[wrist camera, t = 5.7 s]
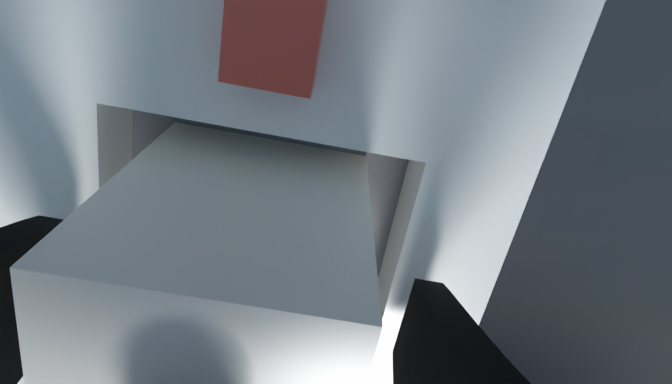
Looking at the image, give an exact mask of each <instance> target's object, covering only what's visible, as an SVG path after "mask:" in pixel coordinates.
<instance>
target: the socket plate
mask: <svg viewBox="0 0 672 384" xmlns="http://www.w3.org/2000/svg"><path fill="white" fill-rule="evenodd" d="M605 1H606V0H0V227H3V226H6V225H9V224H12V223H15V222H18V221H21V220H24V219H28V218H31V217H35V216H39V215H40V216H46V217H52V218H58V219H65V218H67V217H68V216H69V215H70V214H71V213H72V212H73V211H75V210H76V209H77V208H78V207H79V206H80V205H81V204H83V203H84V202H85V201H86V200H87V199H88V198H89V197H91V196H92V195H93V194H94V193H95V192H96V191H97V190H98V189H100V188H101V187H102V186H103V185H104V184H105V183H106V182H108V181H109V180H110V179H111V178H112V177H113V176H114V175H116V174H117V173H118V172H119V171H120V170H121V169H122V168H124V167H125V166H126V165H127V164H128V163H129V162H130V161H131V160H133V159H134V158H135V157H136V156H137V155H138V154H139V153H141V152H142V151H143V150H144V149H145V148H146V147H147V146H149V145H150V144H151V143H152V142H153V141H154V140H155V139H157V138H158V137H159V136H160V135H161V134H162V133H163V132H164V131H166V130H167V129H168V128H169V127H170V126H171V125H172V124H174V123H175V122H178V123H184V124H189V125H195V126H201V127H206V128H212V129H217V130H223V131H229V132H234V133H240V134H245V135H251V136H257V137H262V138H268V139H273V140H279V141H285V142H290V143H296V144H302V145H307V146H313V147H318V148H324V149H330V150H335V151H341V152H346V153H352V154H358V155H363V156H366V160H367V171H368V181H369V191H370V202H371V212H372V223H373V233H374V244H375V254H376V265H377V275H378V286H379V296H380V307H381V317H382V330H381V334H380V338H379V341H378V345H377V348H376V352H375V355H374V359H373V362H372V366H371V370H370V373H369V377H368V380H367V384H393V349H394V346H395V342H396V339H397V336H398V332H399V329H400V326H401V322H402V319H403V316H404V313H405V309H406V306H407V303H408V299H409V296H410V293H411V290H412V286H413V283H414V280H415V278H416V279H422V280H428V281H434V282H440V283H443V284H444V285H445V286H446V287H447V288H448V289H449V290H450V291H451V293H452V294H453V295H454V296H455V297H456V299H457V300H458V301H459V302H460V304H461V305H462V306H463V307H464V308H465V310H466V311H467V312H468V313H469V315H470V316H471V317H472V318H473V319H474V321H475V322H476V323H477V324H478V326H479V323H480V321H481V318H482V316H483V313H484V311H485V308H486V306H487V303H488V300H489V298H490V295H491V293H492V290H493V288H494V285H495V282H496V280H497V277H498V275H499V272H500V270H501V267H502V265H503V262H504V259H505V257H506V254H507V252H508V249H509V247H510V244H511V242H512V239H513V236H514V234H515V231H516V229H517V226H518V224H519V221H520V218H521V216H522V213H523V211H524V208H525V206H526V203H527V201H528V198H529V195H530V193H531V190H532V188H533V185H534V183H535V180H536V178H537V175H538V172H539V170H540V167H541V165H542V162H543V160H544V157H545V155H546V152H547V149H548V147H549V144H550V142H551V139H552V137H553V134H554V131H555V129H556V126H557V124H558V121H559V119H560V116H561V114H562V111H563V108H564V106H565V103H566V101H567V98H568V96H569V93H570V91H571V88H572V85H573V83H574V80H575V78H576V75H577V73H578V70H579V67H580V65H581V62H582V60H583V57H584V55H585V52H586V50H587V47H588V44H589V42H590V39H591V37H592V34H593V32H594V29H595V27H596V24H597V21H598V19H599V16H600V14H601V11H602V9H603V6H604V3H605ZM17 384H24V378H23V377H22V378H21V379H20V381H19V382H18V383H17Z"/></svg>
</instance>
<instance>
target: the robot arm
mask: <svg viewBox="0 0 672 384" xmlns="http://www.w3.org/2000/svg"><path fill="white" fill-rule="evenodd" d="M63 220H64V219H58V218H52V217H46V216H40V215H39V216H35V217H31V218H28V219H24V220H21V221H18V222H15V223H12V224H9V225H6V226H3V227H0V384H17V383H18V382H19V381H20V379H21V378H22V377H23V370H22V362H21V354H20V346H19V338H18V331H17V323H16V315H15V307H14V299H13V291H12V283H11V275H10V267H11V266H12V265H13V264H14V263H15V262H17V261H18V260H19V259H20V258H21V257H22V256H23V255H25V254H26V253H27V252H28V251H29V250H30V249H31V248H32V247H34V246H35V245H36V244H37V243H38V242H39V241H40V240H42V239H43V238H44V237H45V236H46V235H47V234H48V233H50V232H51V231H52V230H53V229H54V228H55V227H56V226H58V225H59V224H60V223H61V222H62V221H63ZM393 384H530V383H529V382H528V381H527V380H526V379H525V377H524V376H523V375H522V374H521V373H520V372H519V371H518V370H517V369H516V368H515V367H514V366H513V365H512V364H511V362H510V361H509V360H508V359H507V358H506V357H505V356H504V355H503V354H502V352H501V351H500V350H499V349H498V348H497V347H496V346H495V344H494V343H493V342H492V341H491V340H490V339H489V337H488V336H487V335H486V334H485V333H484V331H483V330H482V329H481V328H480V327H479V326H478V324H477V323H476V322H475V321H474V319H473V318H472V317H471V316H470V315H469V313H468V312H467V311H466V310H465V308H464V307H463V306H462V305H461V304H460V302H459V301H458V300H457V299H456V297H455V296H454V295H453V294H452V293H451V291H450V290H449V289H448V288H447V287H446V286H445V285H444V284H443V283H440V282H434V281H428V280H422V279H416V278H415V280H414V283H413V286H412V290H411V293H410V296H409V299H408V303H407V306H406V309H405V313H404V316H403V319H402V322H401V326H400V329H399V332H398V336H397V339H396V342H395V346H394V349H393Z"/></svg>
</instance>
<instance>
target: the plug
mask: <svg viewBox="0 0 672 384" xmlns="http://www.w3.org/2000/svg"><path fill="white" fill-rule="evenodd" d="M10 275H11V283H12V291H13V299H14V307H15V315H16V323H17V331H18V338H19V346H20V354H21V362H22V370H23V378H24V384H367V380H368V377H369V373H370V370H371V366H372V362H373V359H374V355H375V352H376V348H377V345H378V341H379V338H380V334H381V330H382V317H381V307H380V296H379V286H378V275H377V265H376V254H375V244H374V233H373V223H372V212H371V202H370V191H369V181H368V171H367V160H366V156H363V155H358V154H352V153H346V152H341V151H335V150H330V149H324V148H318V147H313V146H307V145H302V144H296V143H290V142H285V141H279V140H273V139H268V138H262V137H257V136H251V135H245V134H240V133H234V132H229V131H223V130H217V129H212V128H206V127H201V126H195V125H189V124H184V123H178V122H175V123H174V124H172V125H171V126H170V127H169V128H168V129H167V130H166V131H164V132H163V133H162V134H161V135H160V136H159V137H158V138H157V139H155V140H154V141H153V142H152V143H151V144H150V145H149V146H147V147H146V148H145V149H144V150H143V151H142V152H141V153H139V154H138V155H137V156H136V157H135V158H134V159H133V160H131V161H130V162H129V163H128V164H127V165H126V166H125V167H124V168H122V169H121V170H120V171H119V172H118V173H117V174H116V175H114V176H113V177H112V178H111V179H110V180H109V181H108V182H106V183H105V184H104V185H103V186H102V187H101V188H100V189H98V190H97V191H96V192H95V193H94V194H93V195H92V196H91V197H89V198H88V199H87V200H86V201H85V202H84V203H83V204H81V205H80V206H79V207H78V208H77V209H76V210H75V211H73V212H72V213H71V214H70V215H69V216H68V217H67V218H65V219H64V220H63V221H62V222H61V223H60V224H59V225H58V226H56V227H55V228H54V229H53V230H52V231H51V232H50V233H48V234H47V235H46V236H45V237H44V238H43V239H42V240H40V241H39V242H38V243H37V244H36V245H35V246H34V247H32V248H31V249H30V250H29V251H28V252H27V253H26V254H25V255H23V256H22V257H21V258H20V259H19V260H18V261H17V262H15V263H14V264H13V265H12V266H11V267H10Z"/></svg>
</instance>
